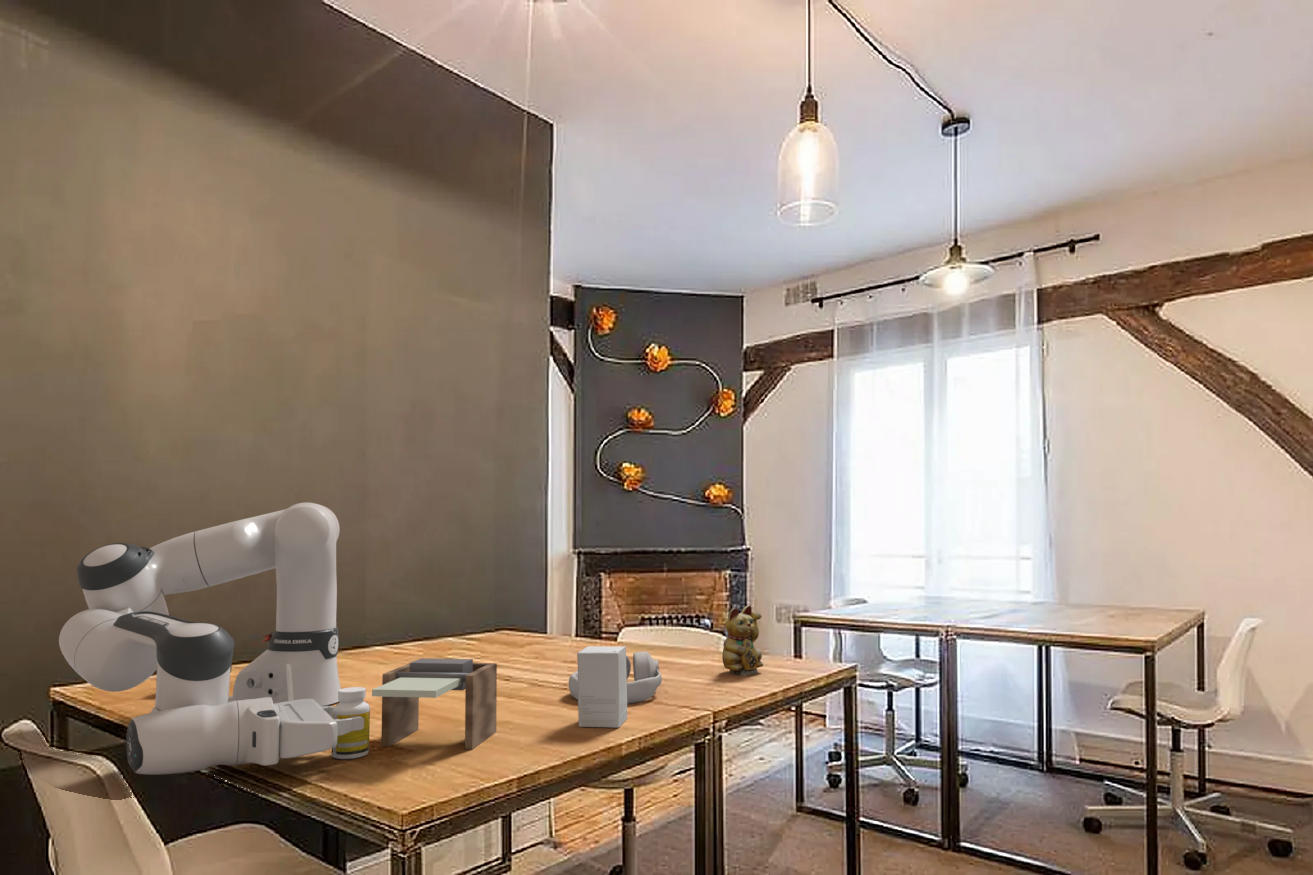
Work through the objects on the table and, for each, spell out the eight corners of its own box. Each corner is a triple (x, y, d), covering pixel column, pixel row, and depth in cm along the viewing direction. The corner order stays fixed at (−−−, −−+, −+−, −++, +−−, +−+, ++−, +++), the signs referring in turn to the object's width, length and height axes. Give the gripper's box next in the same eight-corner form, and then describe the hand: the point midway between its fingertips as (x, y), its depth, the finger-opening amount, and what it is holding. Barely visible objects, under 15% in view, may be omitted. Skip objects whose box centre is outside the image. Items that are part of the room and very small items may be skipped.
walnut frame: (411, 729, 146) (412, 662, 147) (496, 731, 143) (496, 663, 144) (381, 746, 135) (382, 674, 136) (472, 749, 132) (472, 675, 133)
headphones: (595, 679, 185) (556, 713, 166) (593, 644, 185) (554, 673, 166) (676, 684, 179) (646, 719, 160) (674, 647, 179) (644, 678, 160)
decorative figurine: (738, 678, 187) (737, 608, 189) (712, 673, 194) (711, 606, 195) (768, 672, 194) (766, 605, 195) (741, 667, 200) (740, 602, 201)
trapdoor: (413, 683, 143) (413, 658, 143) (480, 685, 141) (480, 659, 141) (366, 705, 127) (366, 676, 127) (441, 707, 125) (441, 677, 126)
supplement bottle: (376, 754, 130) (377, 688, 131) (342, 762, 126) (344, 694, 127) (357, 748, 134) (358, 684, 135) (324, 756, 130) (326, 690, 131)
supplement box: (628, 718, 152) (627, 645, 153) (619, 728, 144) (618, 652, 145) (588, 717, 153) (587, 645, 154) (576, 727, 146) (576, 651, 147)
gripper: (249, 736, 133) (342, 724, 140) (266, 769, 115) (372, 753, 122) (250, 695, 133) (343, 684, 140) (267, 721, 116) (372, 708, 123)
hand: (357, 717), depth 131 cm, fingers open, 7 cm apart
